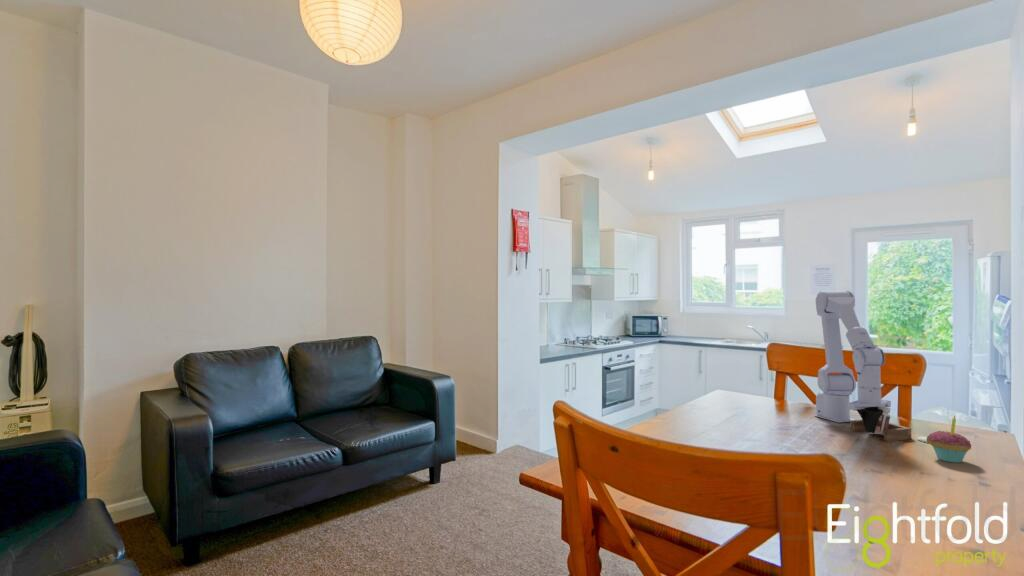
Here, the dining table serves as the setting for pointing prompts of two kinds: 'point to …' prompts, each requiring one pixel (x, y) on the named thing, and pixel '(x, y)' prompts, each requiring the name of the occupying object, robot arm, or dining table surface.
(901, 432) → the walnut corral
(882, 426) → the pill bottle
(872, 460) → the dining table surface
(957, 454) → the cupcake
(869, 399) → the robot arm
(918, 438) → the disc
